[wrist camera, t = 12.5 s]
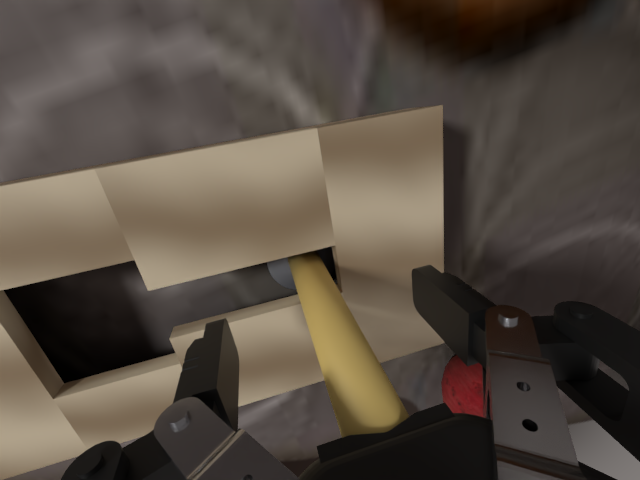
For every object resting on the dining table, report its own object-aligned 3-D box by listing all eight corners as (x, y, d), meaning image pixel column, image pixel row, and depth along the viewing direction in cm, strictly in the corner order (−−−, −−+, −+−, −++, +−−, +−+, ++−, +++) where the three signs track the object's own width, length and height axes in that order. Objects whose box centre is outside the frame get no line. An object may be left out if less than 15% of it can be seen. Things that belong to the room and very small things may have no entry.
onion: (409, 358, 24) (480, 461, 17) (469, 315, 24) (568, 400, 17) (438, 397, 26) (512, 501, 19) (493, 357, 26) (589, 448, 19)
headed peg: (258, 227, 18) (283, 436, 6) (328, 212, 18) (478, 372, 6) (274, 289, 19) (319, 551, 7) (337, 273, 20) (472, 491, 8)
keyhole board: (-139, 208, 13) (-255, 233, 10) (407, 108, 17) (442, 105, 14) (28, 425, 19) (-16, 485, 16) (417, 313, 23) (444, 342, 19)
